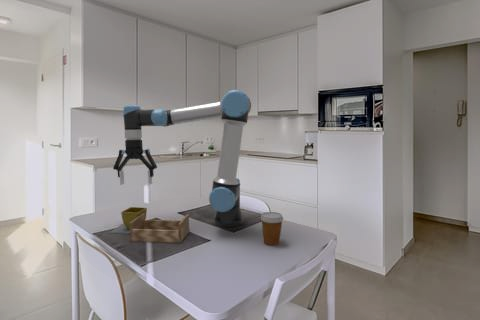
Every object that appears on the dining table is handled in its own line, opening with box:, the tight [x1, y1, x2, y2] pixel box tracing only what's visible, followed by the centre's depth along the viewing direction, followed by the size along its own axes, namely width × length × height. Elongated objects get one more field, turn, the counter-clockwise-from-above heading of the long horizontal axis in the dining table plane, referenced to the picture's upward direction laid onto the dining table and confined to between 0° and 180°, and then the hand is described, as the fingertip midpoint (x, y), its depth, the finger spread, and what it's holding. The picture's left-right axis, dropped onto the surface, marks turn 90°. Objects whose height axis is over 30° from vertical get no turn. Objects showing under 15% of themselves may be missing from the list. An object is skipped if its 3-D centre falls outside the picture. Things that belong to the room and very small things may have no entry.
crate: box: [129, 213, 190, 244], centre depth 130 cm, size 22×14×8 cm, turn 86°
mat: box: [109, 222, 130, 235], centre depth 140 cm, size 13×13×1 cm
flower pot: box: [120, 206, 148, 229], centre depth 139 cm, size 9×9×9 cm
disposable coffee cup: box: [260, 211, 284, 246], centre depth 123 cm, size 10×10×12 cm
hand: (136, 184), depth 139 cm, fingers open, 13 cm apart
